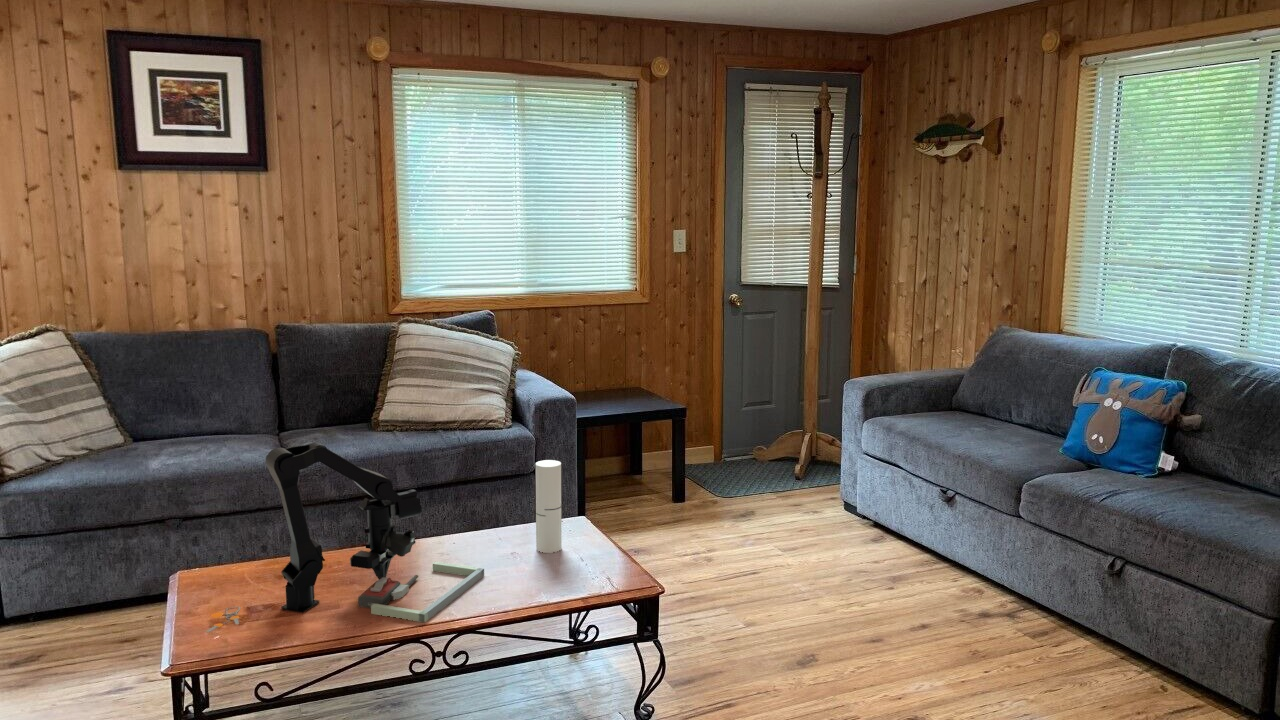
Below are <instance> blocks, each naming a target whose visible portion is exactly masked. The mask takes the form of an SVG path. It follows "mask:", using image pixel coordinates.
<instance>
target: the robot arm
mask: <svg viewBox="0 0 1280 720" xmlns="http://www.w3.org/2000/svg"><path fill="white" fill-rule="evenodd" d="M267 453H268V454H267V455H266V456H265V464H266V467H267V469H268V471H269V473H270V475H271V477H272V479H273V481H274V482H275V485H276V486H277V488H278V492H279V497H280V498H281V502H282V507H283V511H284V515H285V519H286V523H287V526H288V527H287V528H288V532H289V535H290V539H291V541H290V542H291V543H290V549H289V558H290V561H288V563H287V564H286V565H285V567H284V568H282V570H281V572H280V573H281V575H282V577H283V579H284V580H286V581H287V582H286V585H285V601H286V603H285V604H284V605H282V606H281V607H280V608H281V610H284V611H289V612H297V613H301V614H303V613H306V612H307V611H309V610H311V609H312V608H314V607H315V606H316V605H318V604H320V600H318V599H315V585H316V583H317V579H318V575H319V574H320V573H321V571H322V570H323V568H324V562H325V561H326V559H325V558H324V555H323V549H322V545H321V544H320V543H318V542H317V541H316V540H315V539H314V538H311V535H310V531H309V527H308V523H307V522H308V521H307V519H306V518H307V517H306V514H305V510H304V507H303V502H302V497H301V493H300V490H299V481H300V471H302V470H304V469H306V468H309V467H311V466H312V465H314V464H317V463H321V464H322V465H325V466H326V467H328V468H330V469H331V470H333V471H335V472H337V473H339V474H340V475H342V476H344V477H346V478H348V479H349V480H351V481H352V482H354V483H355V484H356V485H357V487H359V488H360V489H361V490H362V491H364V493H366V494H367V495H369V496H371V497H372V498H373V499H372V500H371V499H370V500H369V499H368V498H366V497H365V498H364V499H363V501H362V502H360V504H358V508H360V509H361V510H363V512H364V511H365V512H366V511H367V527H364V533H365V534H368V542H367V543H365V545H364V546H365V549H368V550H369V551H367V550H359V551H358V552H356V553H355V554H353V555H352V556H350V558H349V561H350V563H349V564H350V566H351V567H353V568H359V569H367V570H371V569H372V571H373V573H374V575H376V577H377V579H378V580H380V578H381V577H387V574H388V571H389V569H390V565H391V562H392V559H393V558H394V557H396V556H398V557H405V555H407V554H409V553H411V550H412V548H413V546H414V545H415V544H416V542H417V541H416V536H415V531H414V530H412V529H407V531H405V532H403V531H402V532H399V531H397V527H396V524H392V517H395V519H396V520H398V521H399V520H402V519H408V518H411V517H412V518H413V517H417V516H420V515H421V513H422V509H423V508H422V504H421V501H420V498H419V495H418V491H417V490H416V489H409V490H406V491H402V492H396V490H395V489H394V486H393V485H394V483H393V482H392V480H391V479H390V478H388V477H386V476H384V475H383V474H381V473H379V472H376V471H374V470H370V469H368V468H367V469H366V468H364V467H360V466H357V465H356V464H354V463H353V462H351V461H349V460H348V459H346V458H344V457H343V456H341V455H339V454H338V453H335V452H334V451H332V450H330V449H329V448H327V447H326V446H325V445H324V444H322V443H321V442H317V441H316V442H311V443H308V444H301V445H296V446H295V445H294V446H290V447H289V446H288V447H286V448H283V447H275V448H272V449H271V450H270V451H269V452H267Z"/></svg>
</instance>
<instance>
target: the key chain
mask: <svg viewBox="0 0 1280 720" xmlns="http://www.w3.org/2000/svg"><path fill="white" fill-rule="evenodd" d="M231 609H237V610H236V612H235V611H234V612H231V613H227V612H228V610H231ZM240 610H241V607H240V606H235V607H234V606H233V607H227V608H225V613H223V612H215V613H212V614H211V615H210V617H211V618H215V619H216V618H221V617H222V615H223V616H225V619H226V620H227V621H225V622H222V623H215V624H213V626H212V627H211V628H209V629H208V630H206V631H205V632H206V633H209V632H211V631H213V630H216V629H217V628H222V627H223V626H224V624H227V623H229V622H231V621H233V622H234V625H239V624H240V620H239V619H240V616H238V612H239V611H240Z"/></svg>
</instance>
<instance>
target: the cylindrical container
mask: <svg viewBox="0 0 1280 720" xmlns="http://www.w3.org/2000/svg"><path fill="white" fill-rule="evenodd" d="M535 536H536V537H535V543H536V544H535V548H536V549H537V550H538V551H537V550H536V551H537V552H539V551H540V552H539V553H542V552H543V553H542V554H553V552H555V553H558V552H560V551H561V550H562V462H561V461H559V460H554V459H545V460H539V461H537V462H535ZM559 550H560V551H559ZM557 551H558V552H557Z"/></svg>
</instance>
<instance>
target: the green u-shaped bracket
mask: <svg viewBox="0 0 1280 720" xmlns="http://www.w3.org/2000/svg"><path fill="white" fill-rule="evenodd" d="M432 571H433V572H437V573H445V574H453V575H460V576H466V577H465V578H464V579H462V580H460V581H459V583H457V584H456V585H454V586H453V587H452V588H451V589H450V590H448V591H447V592H445V593H444V594H443V595H441V596H440V597H438V598H437V599H436V600H435V601H434V602H432V603H431V604H430V605H428V606H427V607H426V608H424V609H423V610H418V609H412V608H404V607H398V606H392V605H388V604H386V605H381V604H375V603H374V604H373V605H372V606H371V608H370V614H371V615H376V616H381V615H382V616H383V617H387V616H390V617H389V618H393V617H396V618H395V619H399V618H402V619H401V620H406V619H408V621H412V620H413V622H418V623H424V624H425V623H426V622H427V621H429V620H430V619H432V617H433V618H434V616H435V615H437V614H438V613H439V612H440V611H441V610H442V609H444V608H446V607H447V606H448V605H450V603H451V602H453V601H454V600H456V599H457V598H458V597H459V596H460V595H462V594H463V593H465V592H466V591H467V590H468V589H469V588H470V587H472V586H473V585H475V584H476V583H477V582H479V581H480V580H481V579H482V578H483V577H485V568H483V567H475V566H470V565H461V564H454V563H448V562H447V563H446V562H442V561H441V562H440V561H435V562H433V563H432Z"/></svg>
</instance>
